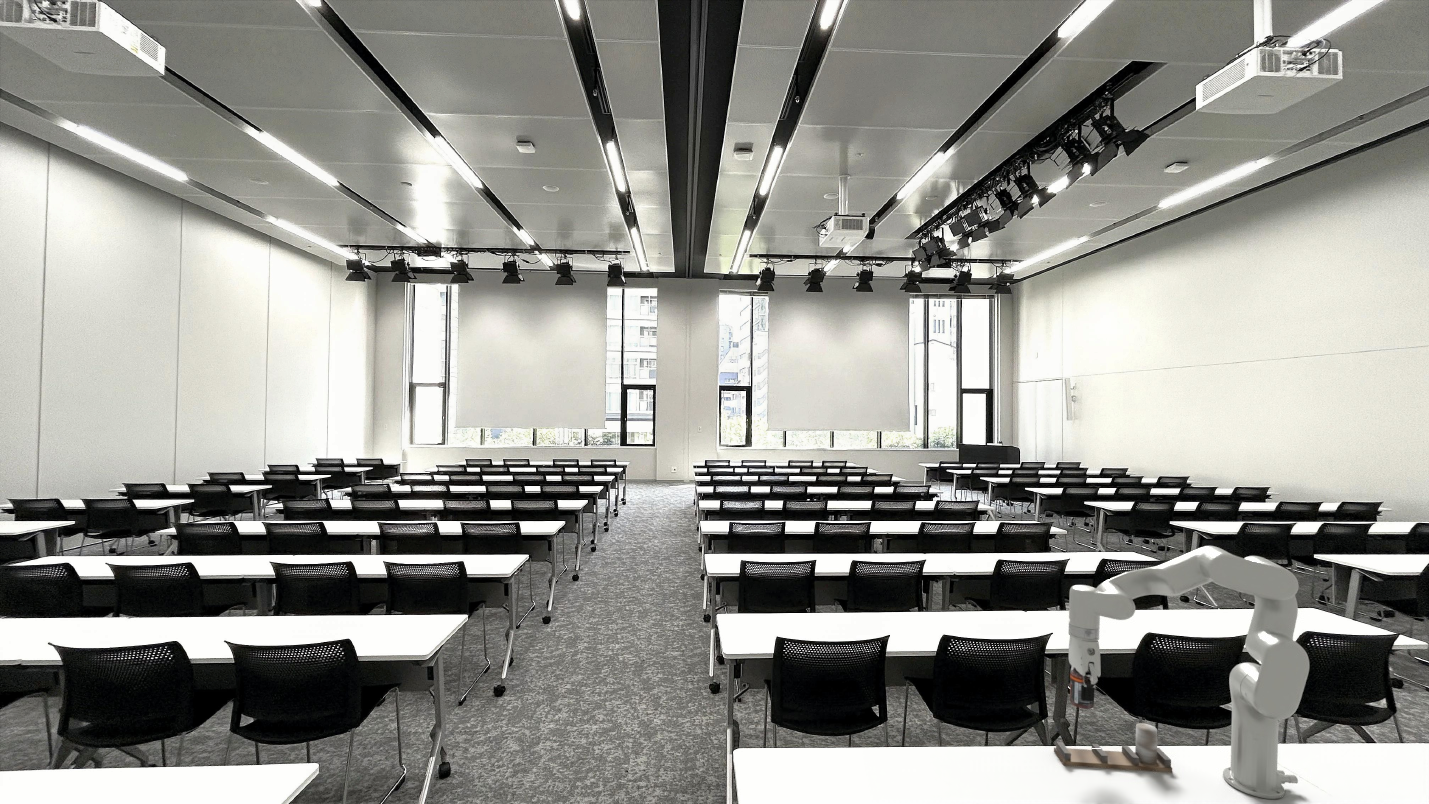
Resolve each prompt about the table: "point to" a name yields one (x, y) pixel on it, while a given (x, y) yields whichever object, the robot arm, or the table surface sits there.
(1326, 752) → the table surface
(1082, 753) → the rail
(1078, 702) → the supplement bottle
